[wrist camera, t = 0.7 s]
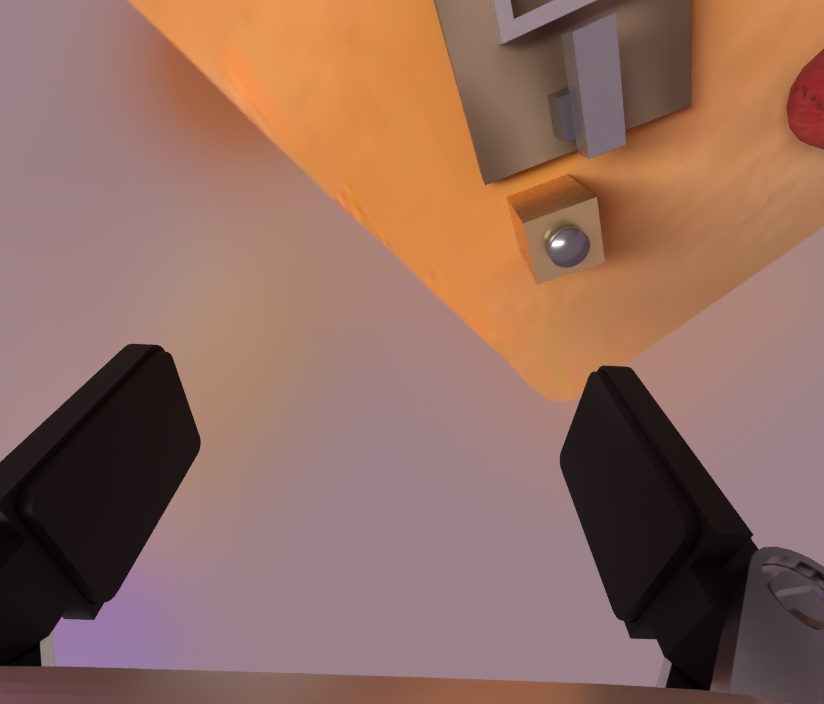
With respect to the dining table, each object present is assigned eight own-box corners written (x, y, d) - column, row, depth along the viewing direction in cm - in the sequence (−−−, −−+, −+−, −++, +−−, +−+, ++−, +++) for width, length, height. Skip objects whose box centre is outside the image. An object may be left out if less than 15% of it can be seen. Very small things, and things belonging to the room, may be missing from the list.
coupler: (567, 174, 29) (603, 201, 23) (576, 231, 31) (610, 268, 26) (506, 197, 30) (526, 228, 24) (519, 250, 32) (540, 291, 27)
